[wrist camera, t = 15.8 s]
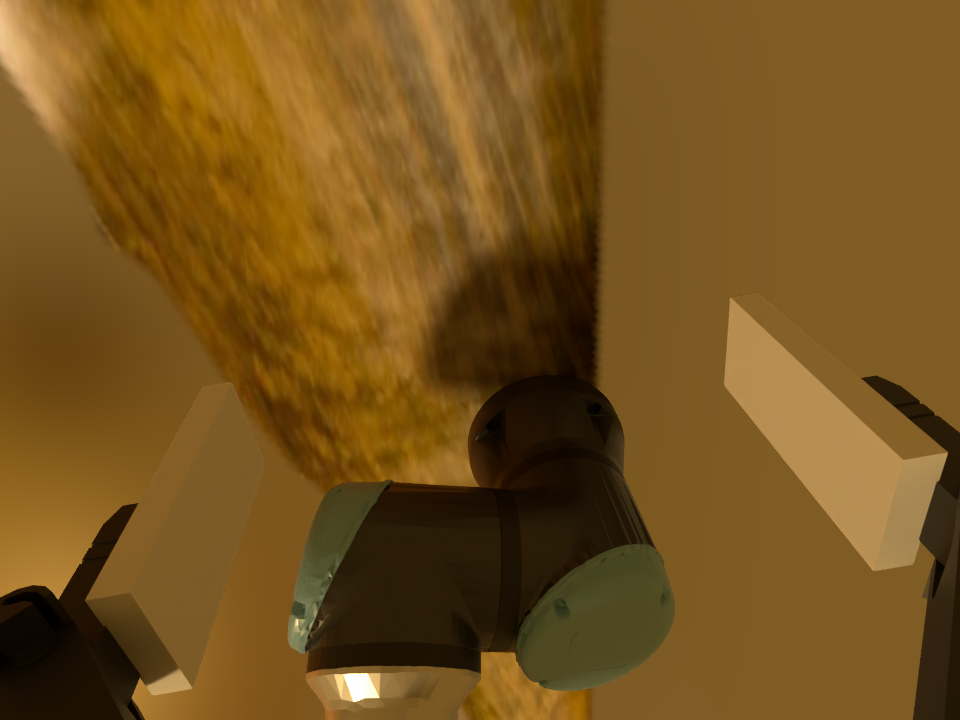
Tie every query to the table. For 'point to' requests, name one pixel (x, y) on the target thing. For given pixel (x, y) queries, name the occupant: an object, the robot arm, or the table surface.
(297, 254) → the table surface
